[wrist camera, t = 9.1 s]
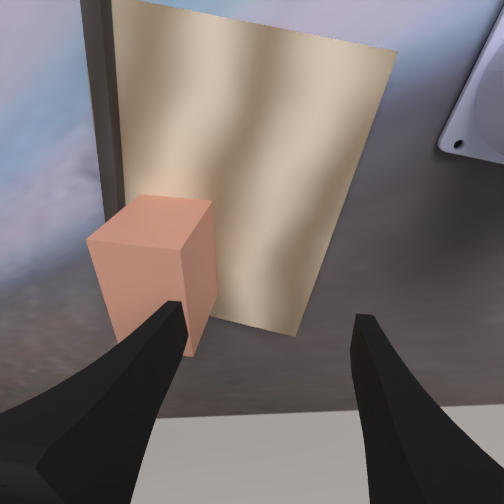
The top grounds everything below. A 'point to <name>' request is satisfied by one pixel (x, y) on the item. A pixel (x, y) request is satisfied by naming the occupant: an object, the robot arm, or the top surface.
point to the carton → (157, 262)
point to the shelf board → (234, 138)
